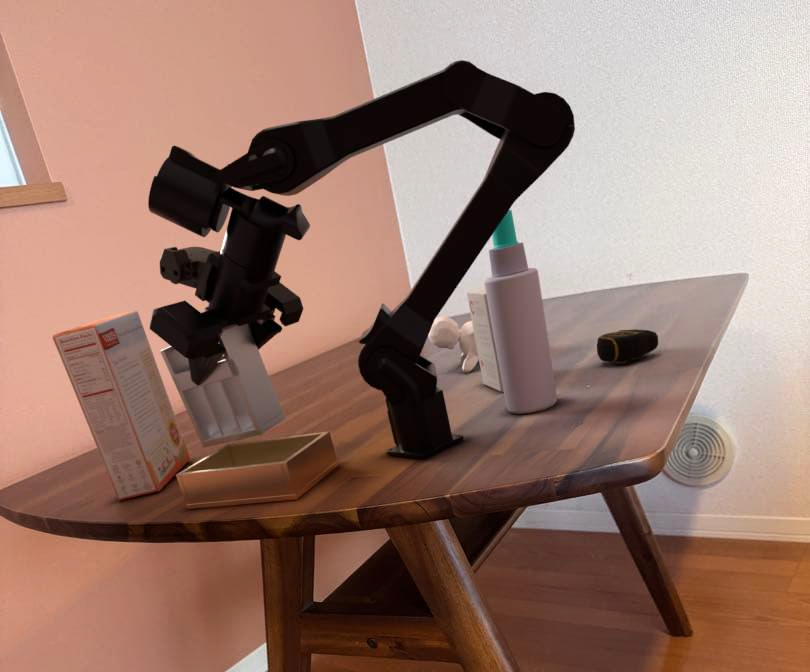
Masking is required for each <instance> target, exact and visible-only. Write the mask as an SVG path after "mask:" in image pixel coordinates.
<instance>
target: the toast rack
mask: <svg viewBox="0 0 810 672" xmlns="http://www.w3.org/2000/svg"><path fill="white" fill-rule="evenodd" d="M219 344H220V345H221V346H223V347H224V348H225V349H226V352H225V353H224V355H223V356H222V357H221V359H220V360H219V361H218V363H217V364H216V365H215V367H214V368H213V369H212V371H211V372H210V374H209V375H208V376H207V378H206V379H205V380H204V381H203V382H202V384H201V385H199V386H197V385H196V384H195V383H193V382H192V380H191V375H190V368H189V362H188V358H185V357H184V356H183V355H181V354H180V353H179V352H178V351H176V350H175V349H174V348H173V347H171V346H170V345H169V346H167V347H166V348H163V349H161V350H160V351H159V352H160V354H161V356H162V360H163V361H164V363H165V365H166V367H167V370H168V372H169V374H170V376H171V378H172V381H173V384H174V385H175V387H176V390H177V392H178V394H179V397H180V399H181V401H182V403H183V405H184V407H185V410H186V412H187V414H188V417H189V419H190V421H191V423H192V425H193V427H194V430H195V432H196V434H197V436H198V439H199V441H200V444H201V445H202V447H203V448H207V447H211V446H217V445H222V444H226V443H231V442H234V441H239V440H244V439H249V438H254V437H257V436H262V435H263V434H264V433H266V432H267V431H269V430H271V429H272V428H273V427H275V426H276V425H278V424H280V423H281V422H282V421H284V420H285V419H286V416H285V413H284V411H283V408H282V406H281V403H280V400H279V399H278V395H277V393H276V391H275V388H274V385H273V383H272V381H271V378H270V376H269V374H268V373H269V372H268V371H267V369H266V366H265V364H264V361H263V358H262V355H261V353H260V349H259V350H258V348H257V346H256V343H255V341H254V338H253V336H252V333H251V331H250V328H249V326H248V324H245V325H242V326H235V327H232V328H229V329H226V330H223V333H222V336H220V339H219Z"/></svg>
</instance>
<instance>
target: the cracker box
mask: <svg viewBox="0 0 810 672" xmlns="http://www.w3.org/2000/svg"><path fill="white" fill-rule="evenodd" d="M52 340H53V342H54V345H55V348H56V349H57V352H58V354H59V357H60V359H61V362H62V364H63V367H64V370H65V372H66V374H67V376H68V379H69V382H70V385H71V386H72V389H73V392H74V394H75V396H76V399H77V401H78V404H79V406H80V409H81V411H82V414H83V416H84V419H85V422H86V424H87V426H88V428H89V431H90V434H91V436H92V438H93V441H94V443H95V446H96V448H97V451H98V453H99V455H100V458H101V460H102V463H103V465H104V467H105V470H106V474H107V475H108V478H109V480H110V483H111V485H112V488H113V490H114V492H115V495H116V497H117V500H118V501H124V500H129V499H132V498H137V497H140V496H145V495H150V494H153V493H154V494H155V493H159V492H160V491H162V490H163V488H164V487H165V486H166V485H167V484H168V483H169V482H170V481H171V480H172V479H173V478H174V477H175V476H176V474H178V473H179V472H180V470H181V469H183V467H184V466H185V465H186V464H187V463H188V462H189V461H190V460H191V456H190V454H189V451H188V449H187V446H186V442H185V440H184V438H183V434H182V431H181V429H180V426H179V423H178V421H177V417H176V414H175V412H174V409H173V407H172V404H171V400H170V398H169V395H168V393H167V390H166V387H165V384H164V381H163V378H162V376H161V375H162V374H161V373H160V370H159V367H158V364H157V362H156V359H155V355H154V352H153V350H152V347H151V345H150V342H149V339H148V336H147V333H146V331H145V327H144V325H143V323H142V319H141V317H140V314H139V312H138V310H132V311H127V312H124V313H118V314H113V315H109V316H105V317H102V318H100V319H96V320H93V321H88V322H87V323H83V324H79V325H77V326H74V327H72V328H68V329H66V330H63V331H60V332H58V333H57V332H56V333H55V334H53V335H52Z"/></svg>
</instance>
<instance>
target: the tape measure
mask: <svg viewBox="0 0 810 672" xmlns="http://www.w3.org/2000/svg"><path fill="white" fill-rule="evenodd" d="M658 345H659V336H658V334H657V332H655V331H652V330H648V329H620V330H617V331H612V332H608V333H604V334H602V335H600V336H599V337H597V343H596V353H597V356H598V358H599V360H600V361H602V362H607V363H612V364H617V365H618V364H619V365H624V364H626V363H627V362H628V361H632V360H636V359H640V358H642V357H644V356H645V355H648V354H649V353H652V352H653V351H654V350H656V349H657V348H658Z"/></svg>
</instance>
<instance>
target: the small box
mask: <svg viewBox="0 0 810 672" xmlns="http://www.w3.org/2000/svg"><path fill="white" fill-rule="evenodd" d="M466 295H467V297H466V298H467V301H468V307H469V313H470V318H471V321H472V324H473V330H474V335H475V341H476V346H477V351H478V357H479V360H478V362H479V367H480V373H481V379H482V384H483V385H485V386H487V387H489V388H491V389H494V390H497V391H499V392H500V393H504V390H503V385H502V379H501V374H500V368H499V362H498V357H497V351H496V346H495V340H494V334H493V329H492V323H491V317H490V312H489V306H488V301H487V295H486V289H485V286H484V287H481V288H476V289H472V290H468V291H467V292H466Z"/></svg>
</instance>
